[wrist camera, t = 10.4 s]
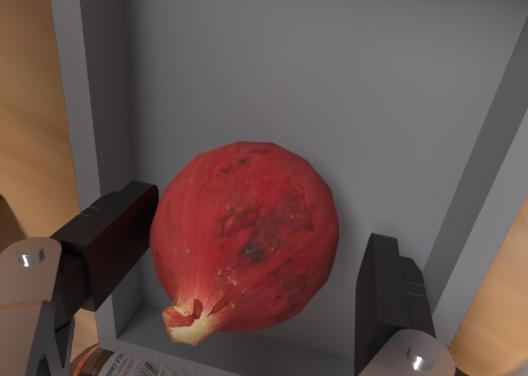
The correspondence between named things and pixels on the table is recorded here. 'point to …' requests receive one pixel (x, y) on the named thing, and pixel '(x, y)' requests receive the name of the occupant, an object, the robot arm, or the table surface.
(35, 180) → the table surface
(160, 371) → the tin
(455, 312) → the tray
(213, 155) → the pomegranate
